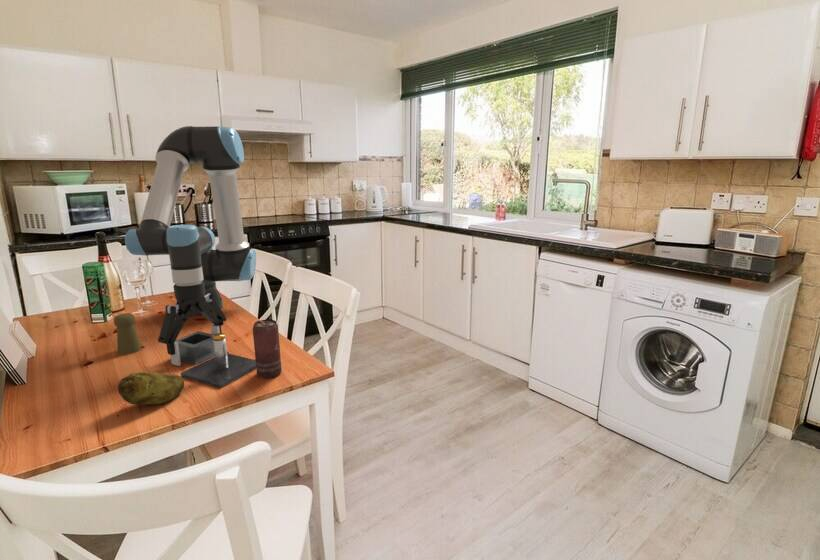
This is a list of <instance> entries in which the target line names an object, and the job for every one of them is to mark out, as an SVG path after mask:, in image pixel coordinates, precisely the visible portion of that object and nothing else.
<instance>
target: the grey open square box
mask: <svg viewBox="0 0 820 560" xmlns="http://www.w3.org/2000/svg"><path fill="white" fill-rule="evenodd" d="M213 335H214V334H211V333H208V332H203V331H199V330H198V331H195V332H192V333H190V334H187V335H184V336H182V337H179V338H177V339H176V341H175V342H178V346H179V354H180V361H181V362H183V363H187V364H193V365H195V366H197V365H199V364H201V363H203V362H205V361H207V360H209V359H211V358H214V357H215V352H214V344H213Z"/></svg>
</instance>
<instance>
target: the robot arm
mask: <svg viewBox="0 0 820 560" xmlns="http://www.w3.org/2000/svg"><path fill="white" fill-rule="evenodd" d="M244 151H245V150H244V147H243V142H242V140H241V137H240V135H239V133H238V132H237V130H236V129H234V128H233V127H229V126H221V125H219V126H192V125H191V126H189V125H188V126H187V125H186V126H182V127H179V128H177V129H175V130H174V131H171V132H170V133H169V134H168V135H167V136H166V137H165V138H163V141H162V142H161V143H160V145H159V146H158V148H157V151H156V153H155V161H156V163H157V164H156V168H155V171H154V175H153V178H152V181H151V186H150V188H149V192H148V196H147V199H146V202H145V206H144V209H143V213H142V216H141V220H140V223H139V226H138V228H137V227H135V228H130V229H128V231H126V233H125V236H124V243H125V248H126V250H127V251H128V252H129V253H130V254H131V255H134V256H146V257H148V256H164V255H165V256H167V255H168V256H169V264H170V270H171V277H172V278H171V279H172V283H173V284H174V285H173V295H174V297H175V300H176V304H172V305H170V304H167V305H165V315H164V318H163V321H162V326H161V329H160V332H159V335H158V338H157V341H158V343H160V344H164V345H166V350H167V354H168V355H169V356H170V362H171V365H173V366H177V367H178V366H179V367H180V366H181V365H182V361H180V354H179V346H178V342H175V341H176V340H177V339H178V337H179V335H180V333H181V331H182V329H183V327H184V325H185V323H186V321H188V320H189V318H192V317H194V316H198V315H202V316H203V317H204V318H205V319H207V320H208V321H209V322H211V325H210V334H217V333H223V332H222V326H224V323H225V322H226V321H227V317H226V316H225V314H224V312H223V311H222V308H223V307H224V301H223V298H222V297H221V294H220V292H219V290H218V289H217V283H216V282H241V281H250V280H252V278H254V275H255V272H256V265H257V252H256V250H255V249H254V248H251V247H250V246H251V245H250V243H249V242H248V241H247V240H245V233H244V226H243V218H242V211H241V209H242V208H241V202H240V196H239V187H238V186H239V185H238V179H237V173H238V171H239V170H240V168H241V167H240V166H241V164H243V163H244V161H245V155H244V154H245V152H244ZM191 164H202V170H203V171H204V172H206V173H207V174H208V177H209V185H210V190H211V197H212V203H213V204H212V205H213V210H214V216H215V223H216V229H217V236H218V243H217V244H216V236H215V234H214V232H213V231H212V230H211V229H210V228H208V227H206V226H196V225H194V224H176V225H171V224H172V221H173V216H174V212H175V209H176V208H175V207H176V204H177V200H178V196H179V192H180V189H181V184H182V181H183V177H184V173H185V172H186V171H188V170H189V167H190V165H191ZM214 246H215V249H213V247H214Z"/></svg>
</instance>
